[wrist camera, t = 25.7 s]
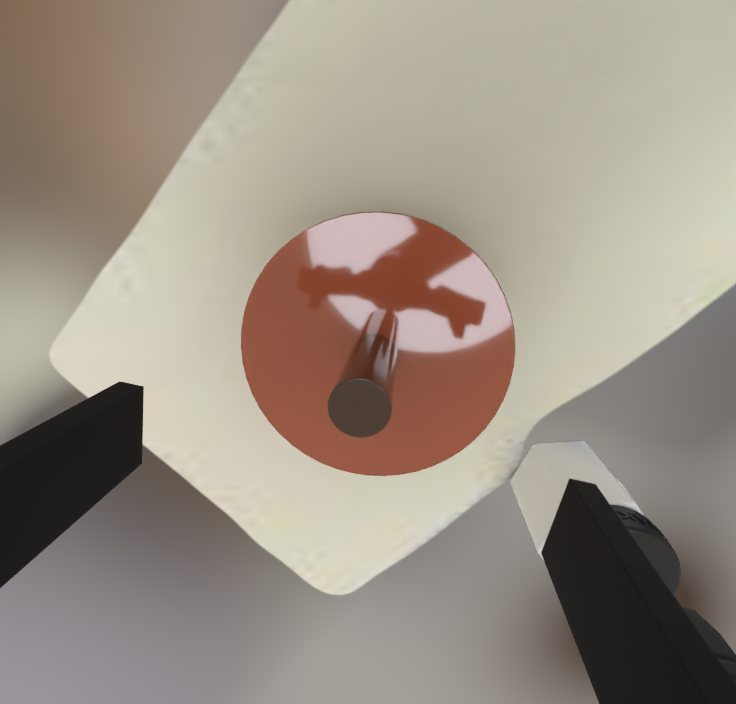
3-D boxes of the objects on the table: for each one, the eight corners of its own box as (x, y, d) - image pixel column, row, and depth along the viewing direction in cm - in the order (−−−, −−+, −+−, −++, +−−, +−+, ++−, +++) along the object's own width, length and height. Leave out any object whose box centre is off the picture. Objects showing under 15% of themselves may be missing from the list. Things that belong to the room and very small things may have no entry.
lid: (546, 242, 24) (622, 251, 15) (471, 489, 29) (497, 600, 20) (262, 187, 25) (183, 166, 16) (236, 437, 30) (165, 524, 21)
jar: (622, 491, 40) (708, 598, 28) (544, 531, 42) (596, 645, 30) (573, 419, 38) (643, 502, 27) (494, 464, 40) (529, 558, 29)
